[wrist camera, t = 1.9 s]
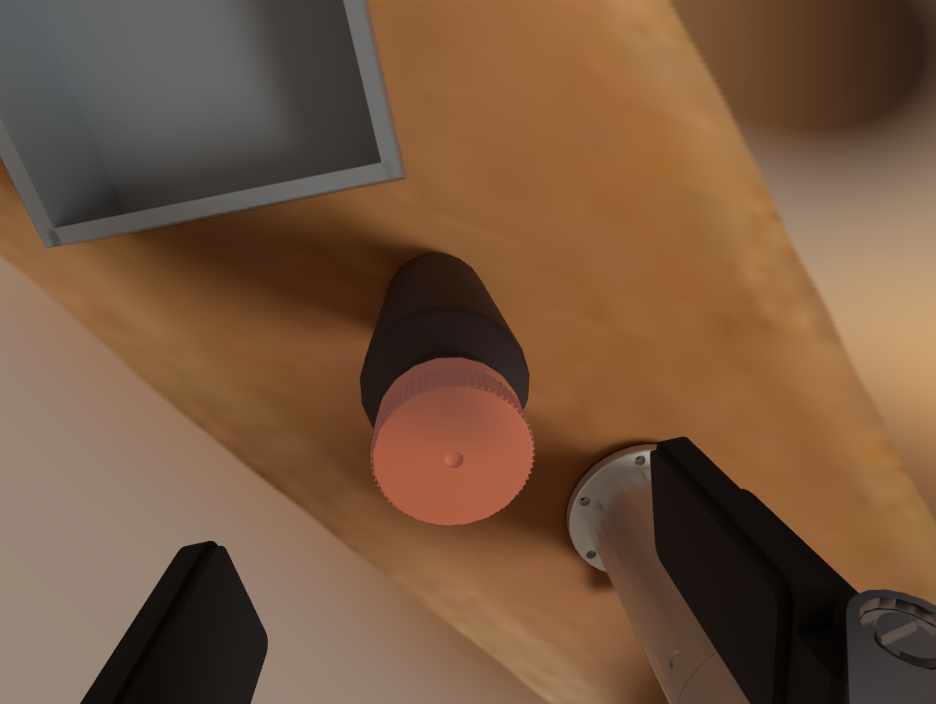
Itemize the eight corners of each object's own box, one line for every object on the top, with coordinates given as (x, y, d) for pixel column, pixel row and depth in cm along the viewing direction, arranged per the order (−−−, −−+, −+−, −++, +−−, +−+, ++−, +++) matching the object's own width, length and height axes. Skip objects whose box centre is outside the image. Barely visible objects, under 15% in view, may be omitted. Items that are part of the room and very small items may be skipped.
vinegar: (505, 300, 33) (612, 452, 14) (437, 366, 34) (454, 586, 16) (435, 230, 31) (453, 300, 12) (366, 302, 32) (286, 467, 14)
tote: (406, 178, 30) (401, 176, 23) (129, 234, 30) (45, 248, 23) (325, -188, 24) (288, -329, 17) (-24, -123, 23) (-197, -242, 17)
